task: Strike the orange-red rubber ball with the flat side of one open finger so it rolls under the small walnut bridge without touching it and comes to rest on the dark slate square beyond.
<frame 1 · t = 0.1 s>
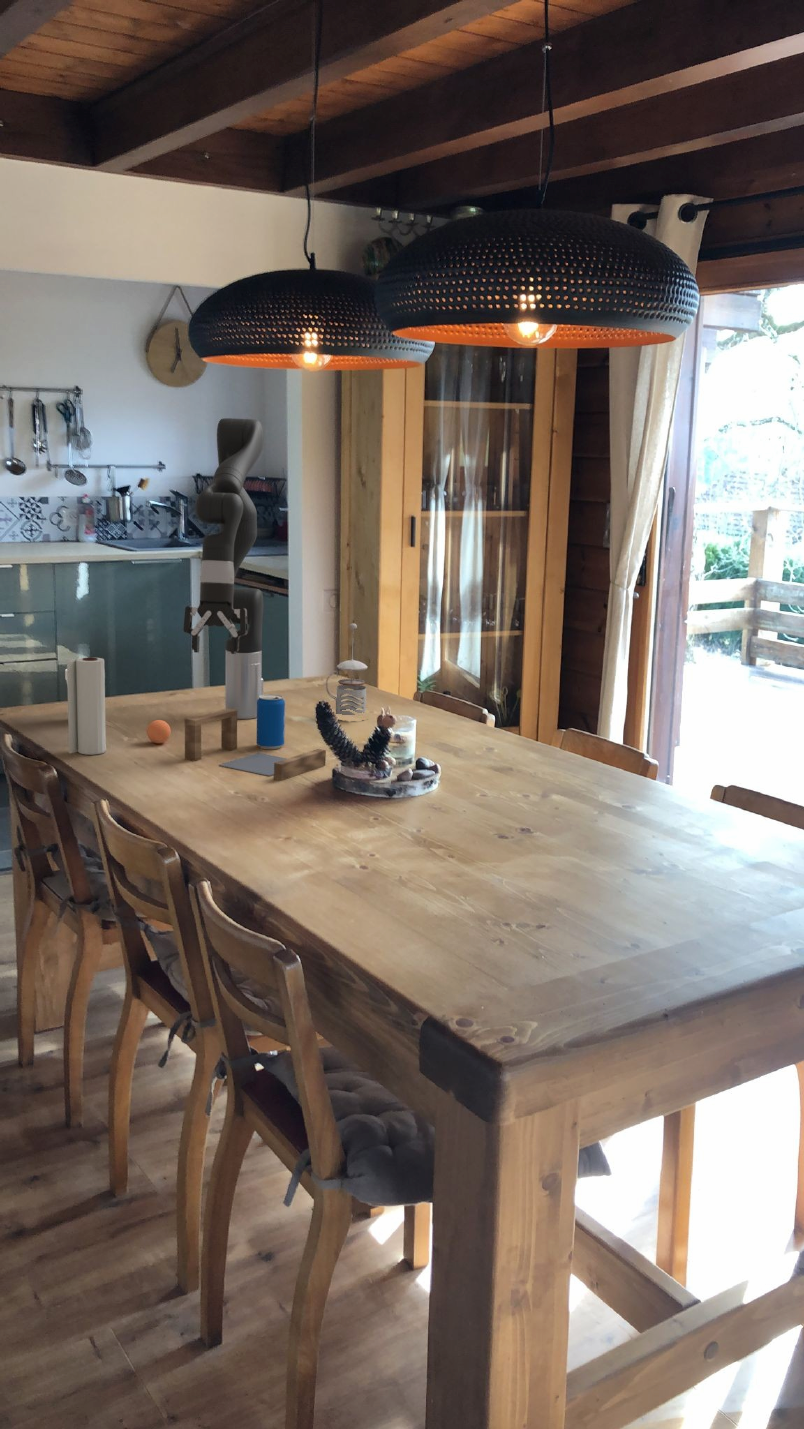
hand: (214, 653, 272), 22 cm above the table, tool pointing down, fingers open, 8 cm apart
bridge: (211, 753, 271), on the table
stopper: (300, 772, 259), on the table
ball: (158, 731, 279), on the table
paper towel roll: (89, 752, 269), on the table
foam cup: (86, 721, 300), on the table
beverage can: (270, 747, 280), on the table
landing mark: (263, 764, 264), on the table
french press: (347, 718, 314), on the table
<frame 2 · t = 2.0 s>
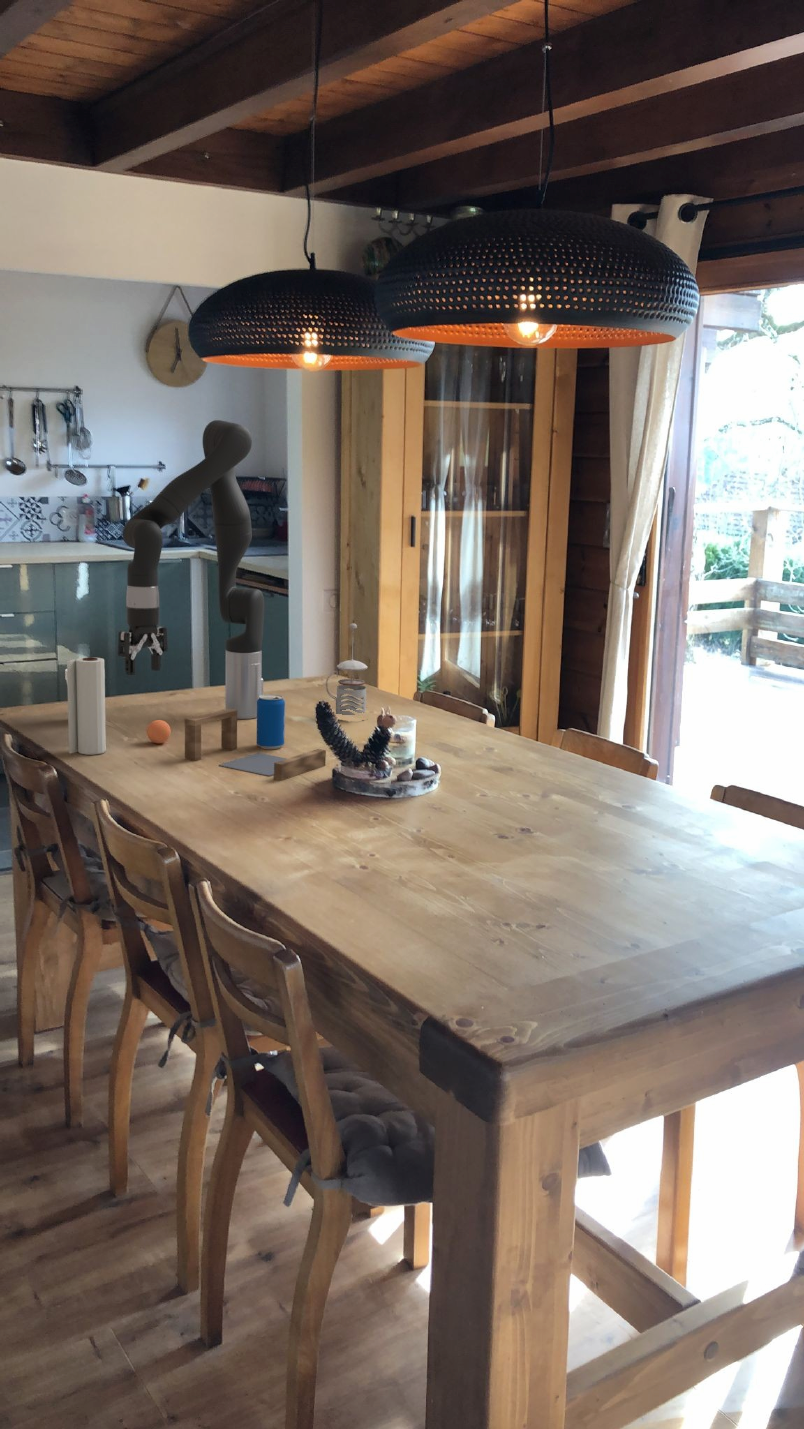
hand: (143, 672, 285), 15 cm above the table, tool pointing down, fingers open, 8 cm apart
nothing on the table moved.
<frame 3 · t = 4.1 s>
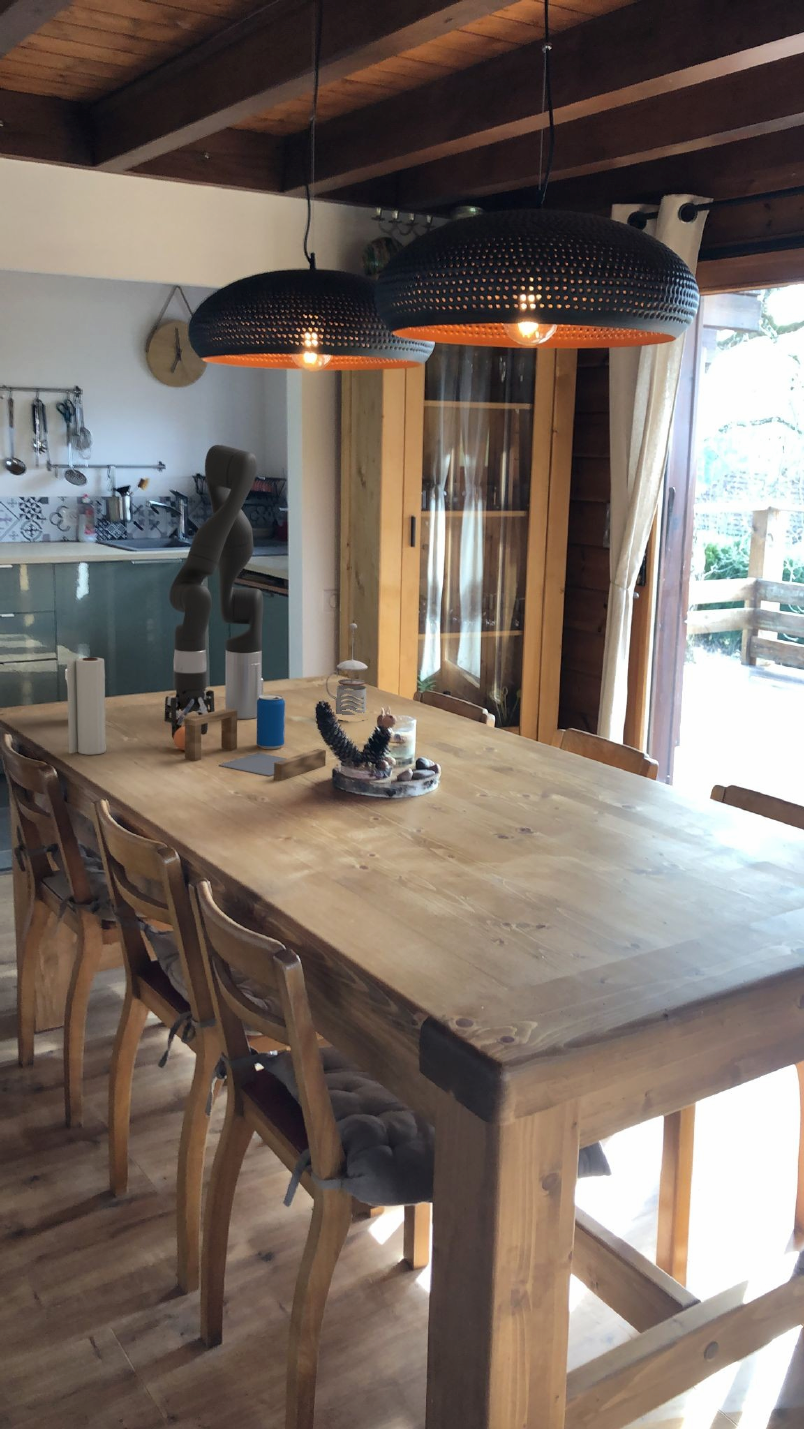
hand: (189, 736, 280), 2 cm above the table, tool pointing down, fingers open, 8 cm apart
ball: (185, 738, 273), on the table
everything else where it was.
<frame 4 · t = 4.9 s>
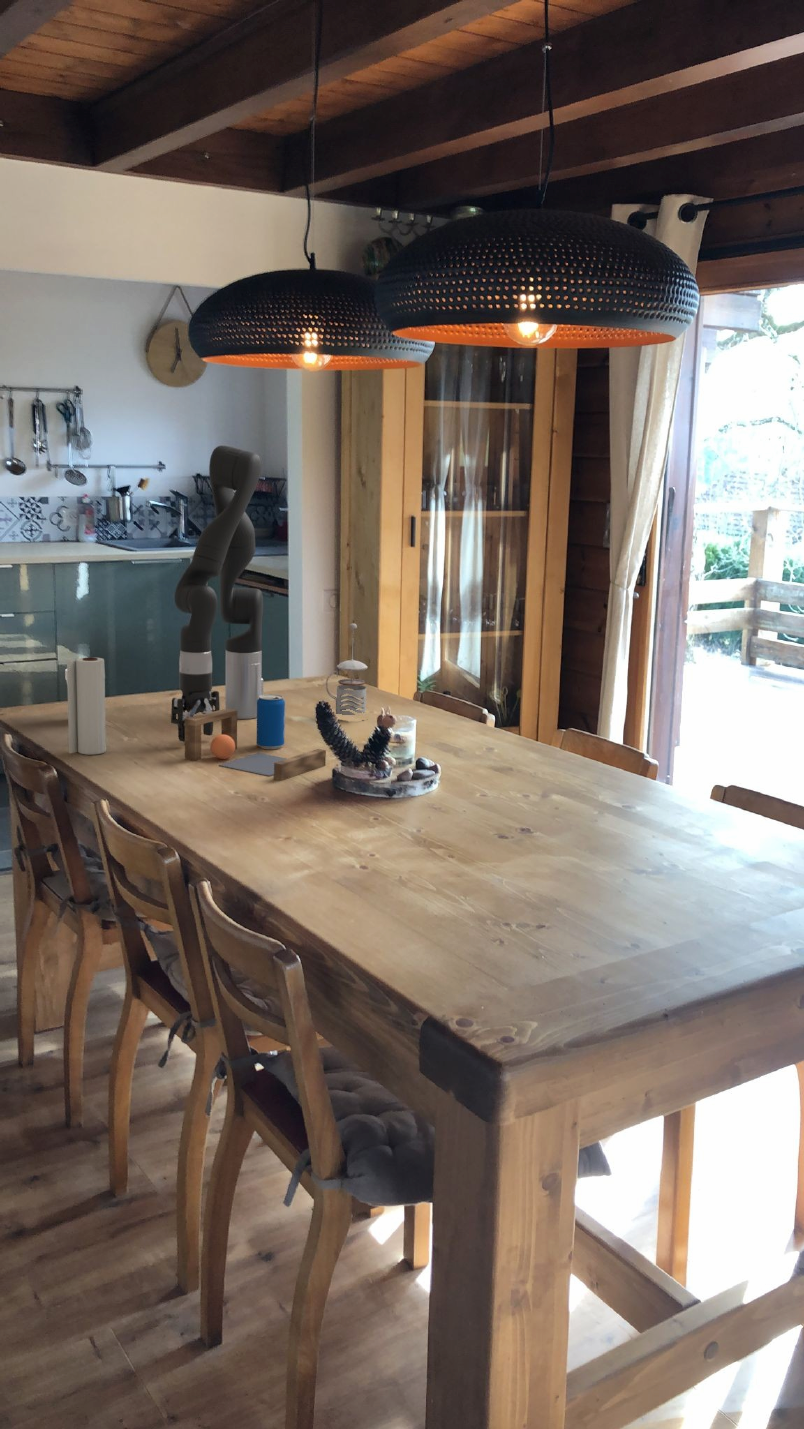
hand: (195, 738, 280), 1 cm above the table, tool pointing down, fingers open, 8 cm apart
ball: (222, 746, 267), on the table
everything else where it was.
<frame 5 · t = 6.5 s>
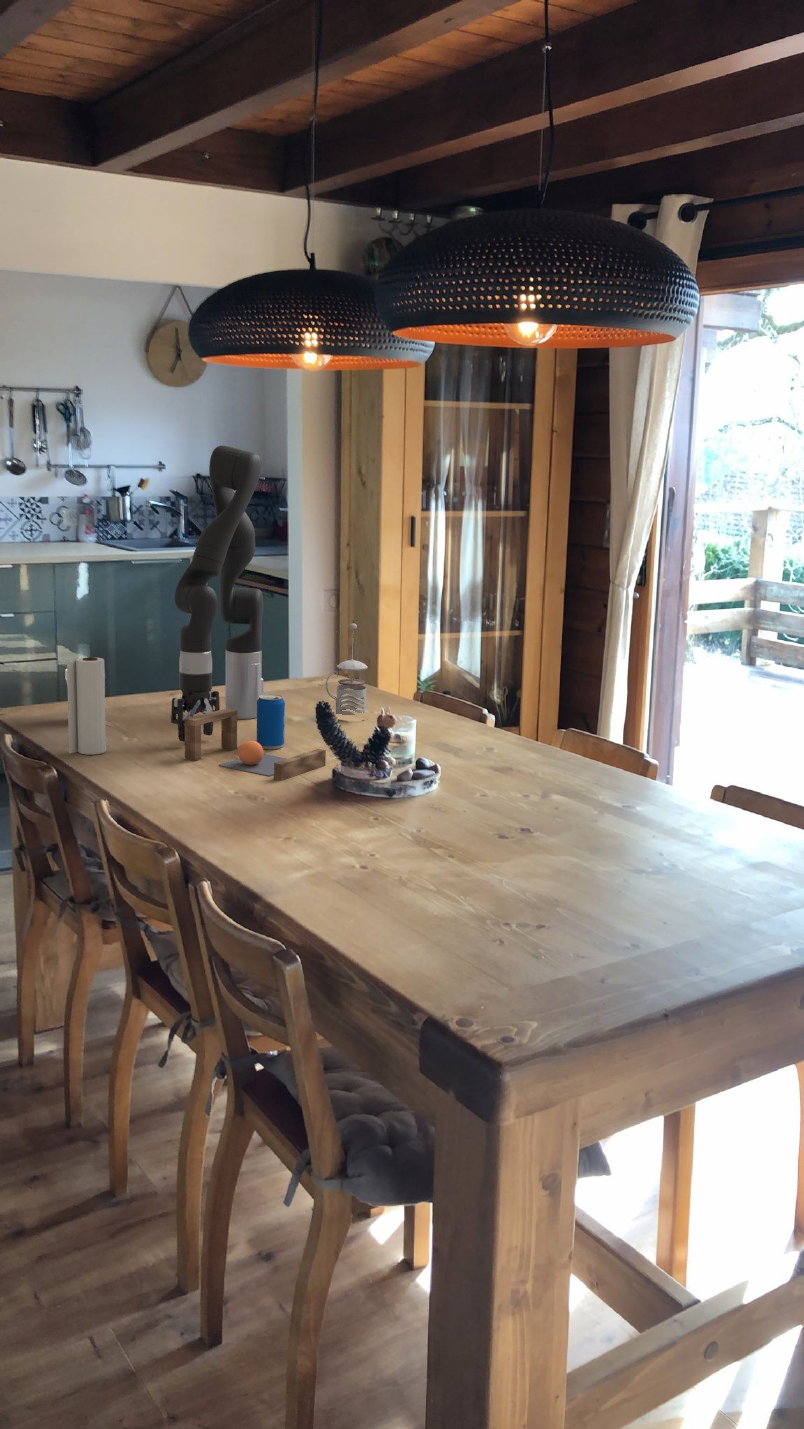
hand: (195, 738, 280), 1 cm above the table, tool pointing down, fingers open, 8 cm apart
ball: (250, 753, 262), on the table
everything else where it was.
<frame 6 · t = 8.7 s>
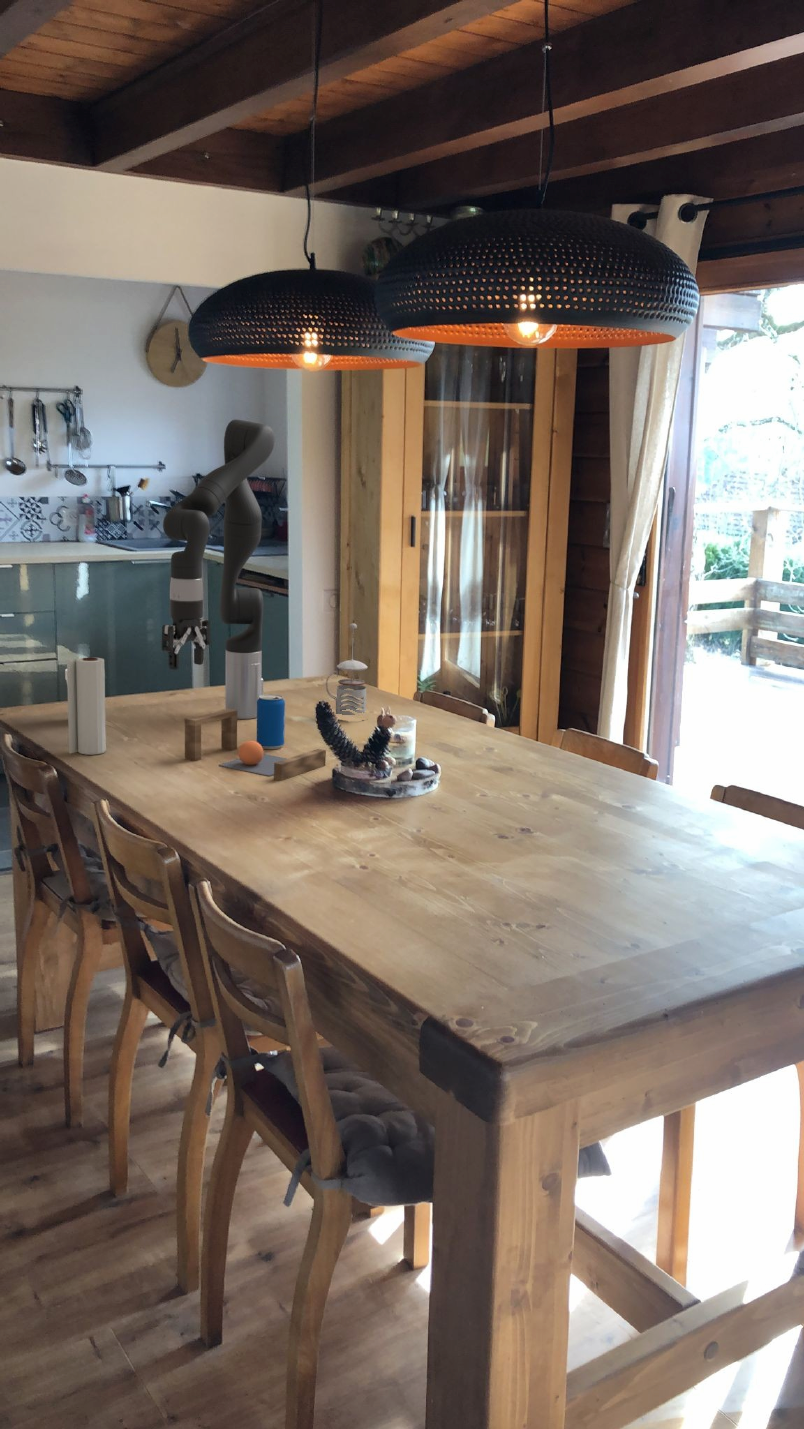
hand: (186, 666, 278), 18 cm above the table, tool pointing down, fingers open, 8 cm apart
nothing on the table moved.
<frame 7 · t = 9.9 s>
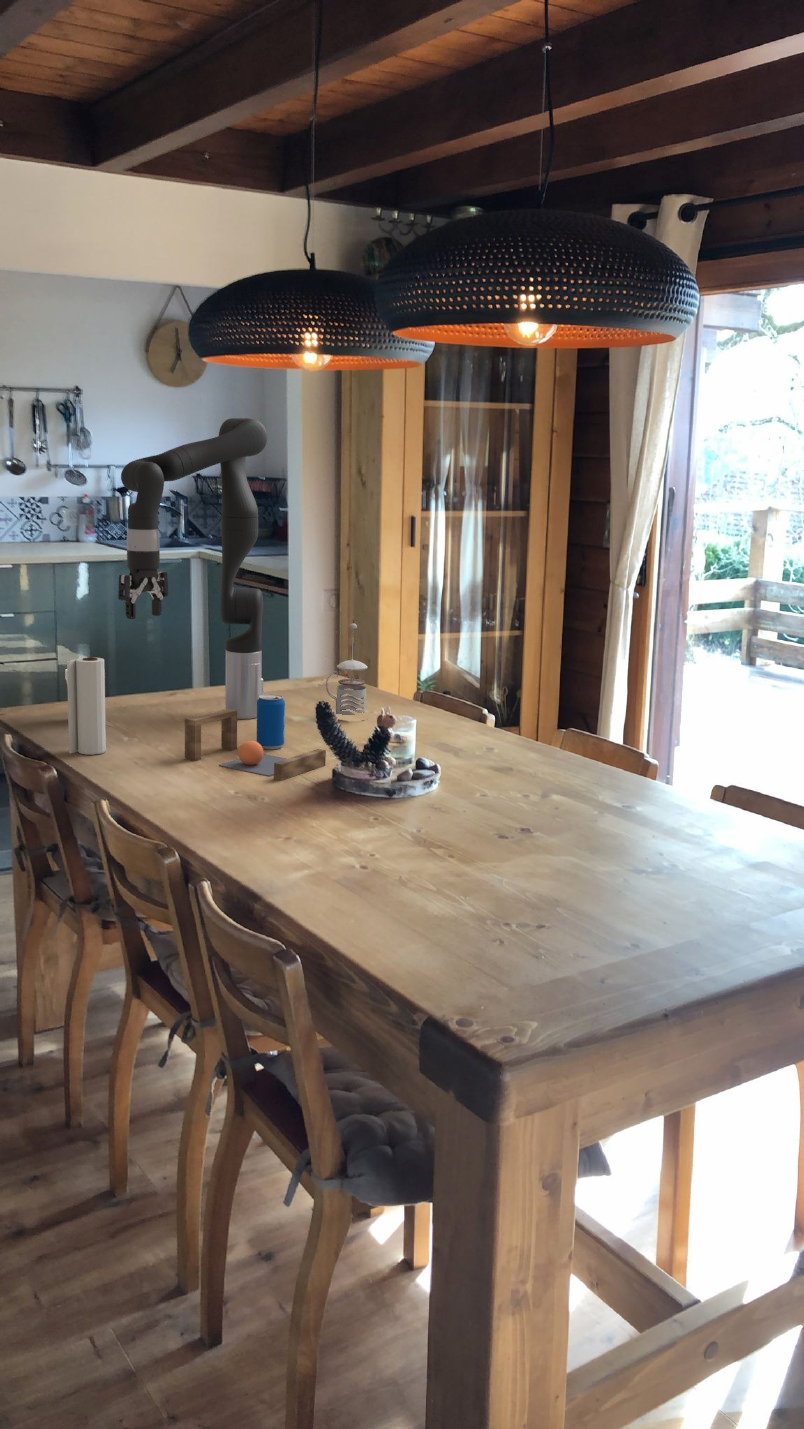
hand: (143, 617, 284), 28 cm above the table, tool pointing down, fingers open, 8 cm apart
nothing on the table moved.
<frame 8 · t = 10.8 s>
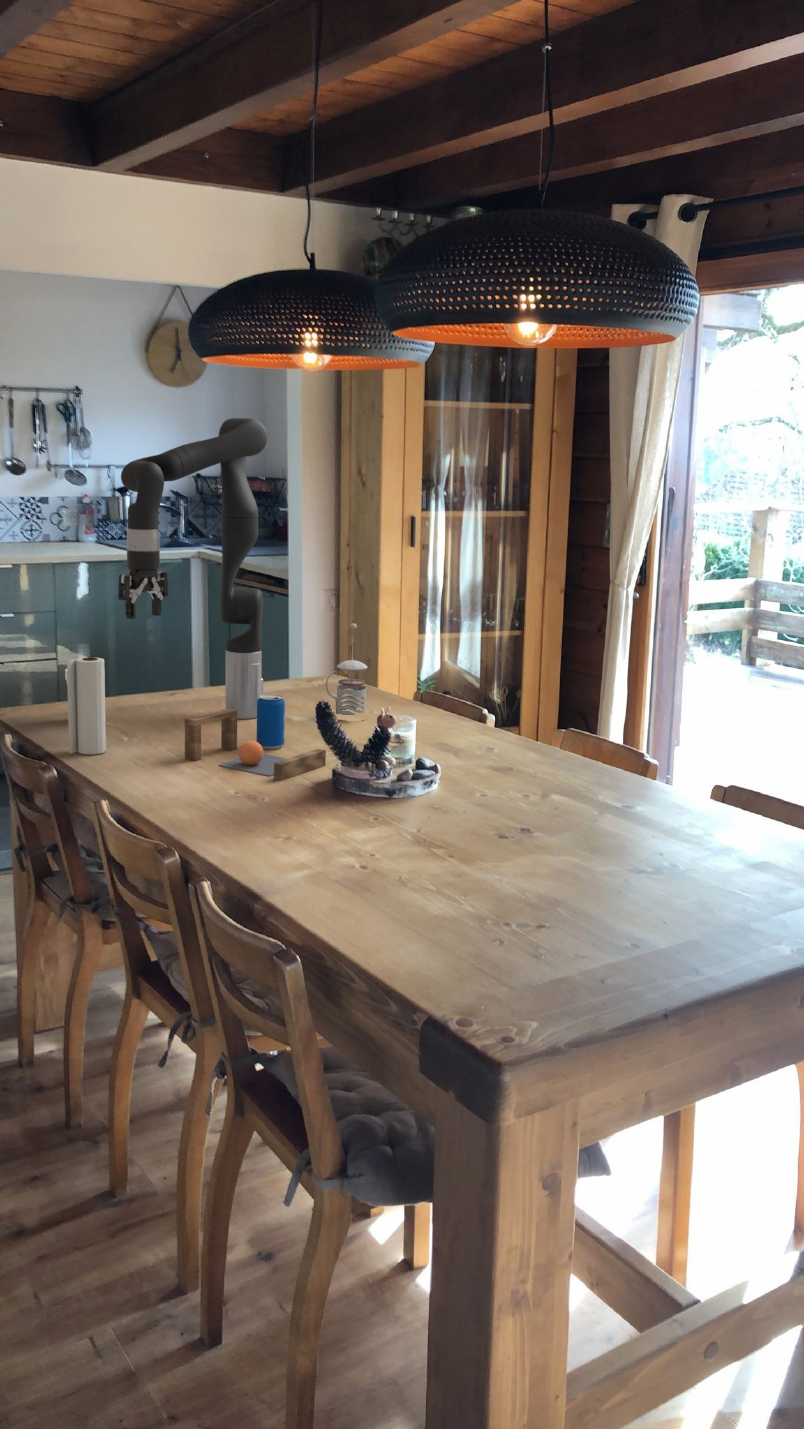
hand: (143, 617, 284), 28 cm above the table, tool pointing down, fingers open, 8 cm apart
nothing on the table moved.
at the end: ball 2.9 cm from the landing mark (horizontally); ball never touched bridge; ball at rest at the end (0.0 cm/s) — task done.
